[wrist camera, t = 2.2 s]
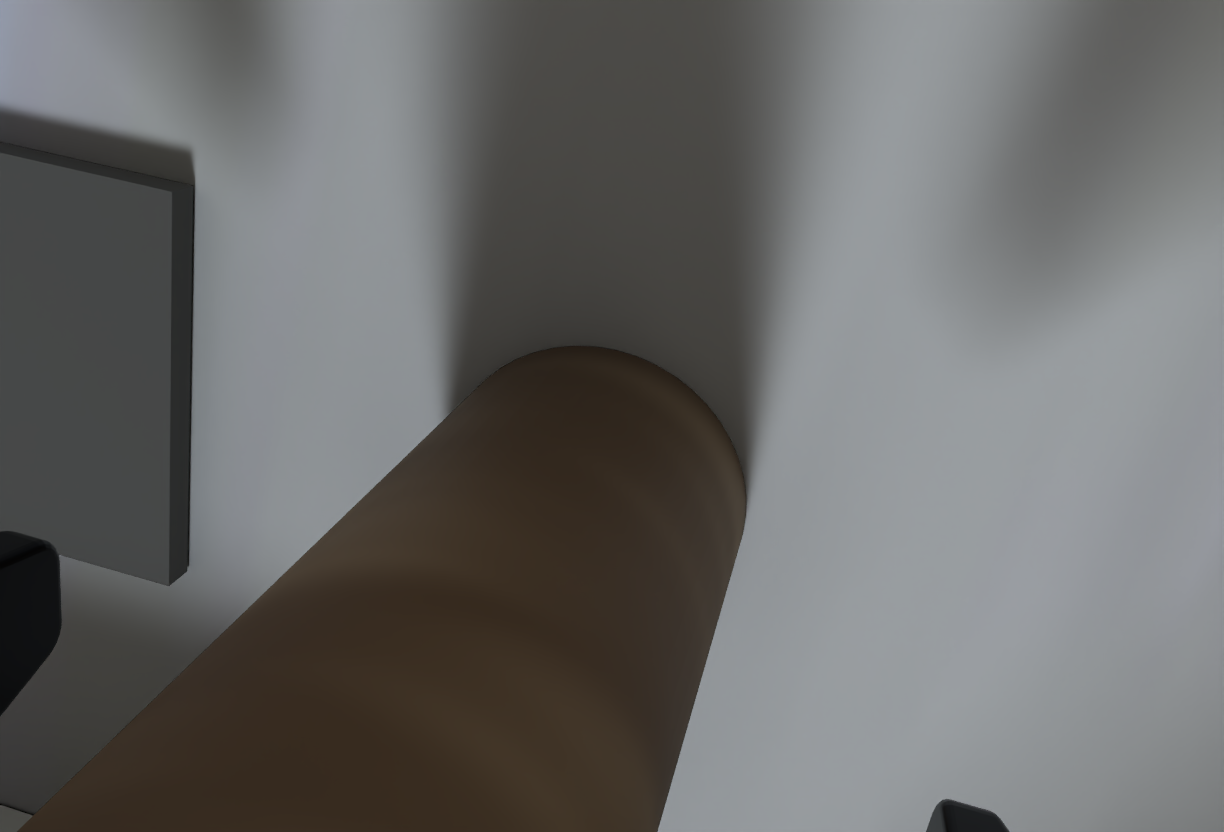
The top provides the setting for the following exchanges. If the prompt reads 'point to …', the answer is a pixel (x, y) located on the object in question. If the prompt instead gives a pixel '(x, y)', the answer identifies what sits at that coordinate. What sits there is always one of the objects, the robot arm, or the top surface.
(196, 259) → the top surface
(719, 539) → the dowel
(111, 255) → the pad
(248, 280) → the top surface
